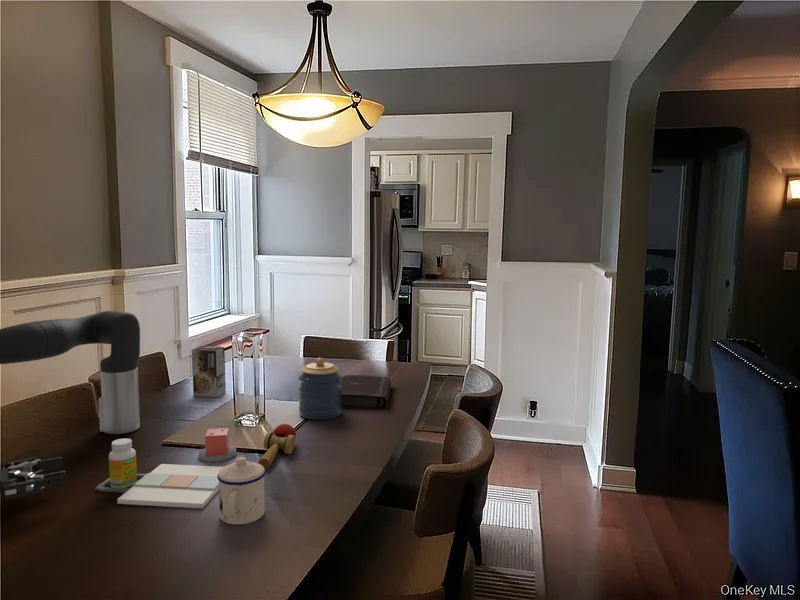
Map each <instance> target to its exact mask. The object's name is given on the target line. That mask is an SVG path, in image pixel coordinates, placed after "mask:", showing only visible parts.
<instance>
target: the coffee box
mask: <svg viewBox="0 0 800 600" xmlns="http://www.w3.org/2000/svg"><path fill="white" fill-rule="evenodd" d="M225 355H226V354H225V346H212V345H211V346H209V345H208V346H207V345H206V346H204V345H202V346H201V345H200V346H197V347H195V348H194V349H193V348H192V349H191V363H192V364H191V365H192V366H191V367H192V370H191V371H192V387H193V390H192V392H193V393H192V394H193V395H192V396H194V397H204V398H205V397H206V398H219V397H221V396H222V395H224V394H226V393H227V392H226V391H227V390H226V386H227V385H226V356H225Z"/></svg>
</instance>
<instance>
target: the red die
mask: <svg viewBox="0 0 800 600" xmlns="http://www.w3.org/2000/svg"><path fill="white" fill-rule="evenodd" d="M204 439H205V440H204V443H205V447H204V448H202V449H200V450H199V451H198V459H199V461H202V462H205V463H222V462H226V461H229V460H232V459H234V458H235V457H236V456H237V447H235V446H233V445H231V444H230V429H229V427H226V428H225V427H224V428H223V427H221V428H208V429H207V431H206V434H205V435H204Z"/></svg>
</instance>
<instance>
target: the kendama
mask: <svg viewBox="0 0 800 600" xmlns="http://www.w3.org/2000/svg"><path fill="white" fill-rule="evenodd" d="M296 433H297V432H296V429H295V428H294V427H293V426H292V425H290V424H288V423H282V424H279V425H278V426H276V427H275V428H274V430H273V431H268V432H267V433H266V434H265V436H264V441H263V449H265V450H267V451H266V452H265V453H264V454H263V455H262V457H261V458H260V459H258V461H257V463H258V464H260V465H262V466H263V467H264V470H269V469H270V467H271V465H272V463H273V461H274V459H275V458H276V455H277V453H278V451H279V449H281V450H282V451H283V452H284V454H285V455H290V454H292V452H293V450H294V448H295V442H296V437H297V434H296Z"/></svg>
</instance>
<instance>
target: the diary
mask: <svg viewBox="0 0 800 600" xmlns="http://www.w3.org/2000/svg"><path fill="white" fill-rule="evenodd" d="M340 385H341V409H342V408H345V409H357V408H377V407H378V409H381V408H382V406H384V409H387V407H388V405H389V398H390V393H391V392H390V391H391V387H392V380H391V377H390V376H379V375H378V376H376V375H366V374H365V375H363V374H362V375H361V374H344V375H341V379H340ZM384 404H385V405H384ZM378 405H379V406H378Z"/></svg>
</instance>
